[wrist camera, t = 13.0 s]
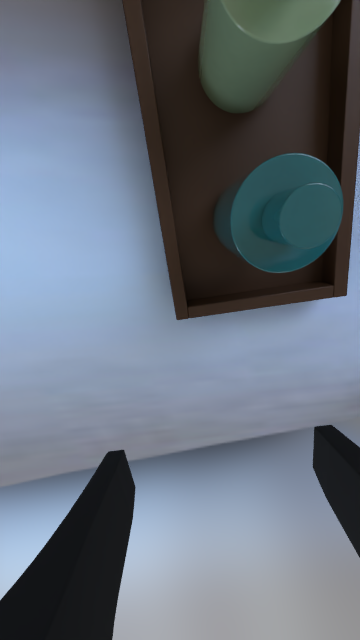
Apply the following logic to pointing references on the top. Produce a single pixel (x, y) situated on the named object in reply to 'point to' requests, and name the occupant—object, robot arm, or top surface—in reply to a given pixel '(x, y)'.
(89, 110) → the top surface
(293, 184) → the teal bottle
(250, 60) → the green bottle middle
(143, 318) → the top surface
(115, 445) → the top surface
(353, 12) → the tray
